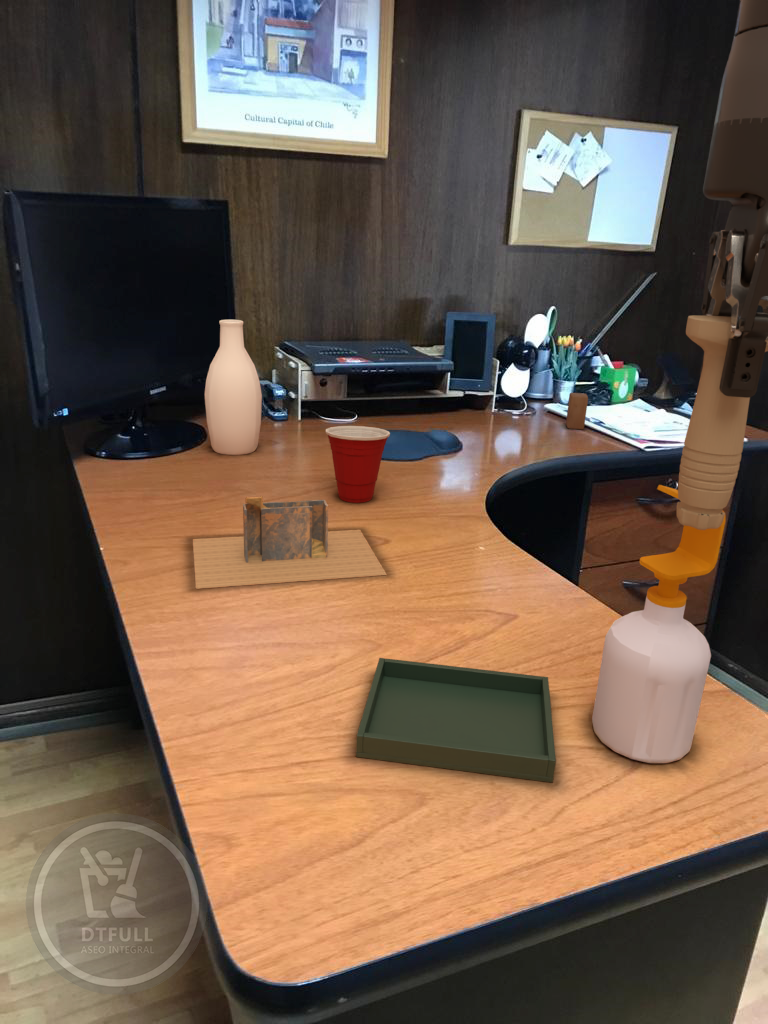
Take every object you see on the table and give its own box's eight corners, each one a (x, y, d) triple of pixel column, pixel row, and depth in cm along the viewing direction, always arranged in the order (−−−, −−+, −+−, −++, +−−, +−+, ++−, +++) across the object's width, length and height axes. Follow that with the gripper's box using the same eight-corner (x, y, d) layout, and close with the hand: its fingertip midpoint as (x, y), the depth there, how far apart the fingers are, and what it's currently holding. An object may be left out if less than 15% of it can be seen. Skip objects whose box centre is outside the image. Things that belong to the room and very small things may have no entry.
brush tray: (545, 696, 79) (548, 676, 78) (552, 782, 66) (556, 760, 65) (378, 676, 81) (379, 657, 80) (355, 757, 68) (356, 735, 68)
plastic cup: (390, 489, 137) (393, 423, 133) (383, 510, 127) (386, 439, 123) (330, 484, 138) (331, 419, 134) (318, 505, 128) (319, 434, 124)
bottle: (262, 456, 152) (260, 325, 143) (204, 457, 151) (199, 324, 142) (262, 441, 163) (260, 318, 154) (208, 441, 161) (203, 316, 152)
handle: (750, 540, 55) (797, 327, 50) (657, 530, 57) (694, 321, 51) (736, 517, 60) (778, 319, 55) (650, 508, 61) (683, 313, 56)
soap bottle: (572, 717, 75) (608, 477, 67) (647, 699, 79) (691, 469, 70) (632, 775, 68) (681, 513, 59) (712, 753, 71) (770, 502, 62)
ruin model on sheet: (195, 588, 98) (192, 517, 94) (192, 539, 113) (189, 475, 109) (386, 574, 104) (390, 507, 100) (360, 529, 119) (362, 469, 115)
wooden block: (566, 428, 184) (571, 395, 182) (565, 424, 188) (569, 392, 185) (583, 430, 184) (588, 396, 181) (582, 426, 188) (586, 393, 185)
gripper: (691, 131, 56) (652, 367, 62) (749, 100, 42) (693, 406, 48) (801, 134, 55) (751, 373, 61) (896, 104, 41) (820, 414, 47)
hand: (725, 386), depth 54 cm, fingers closed on handle, 5 cm apart
